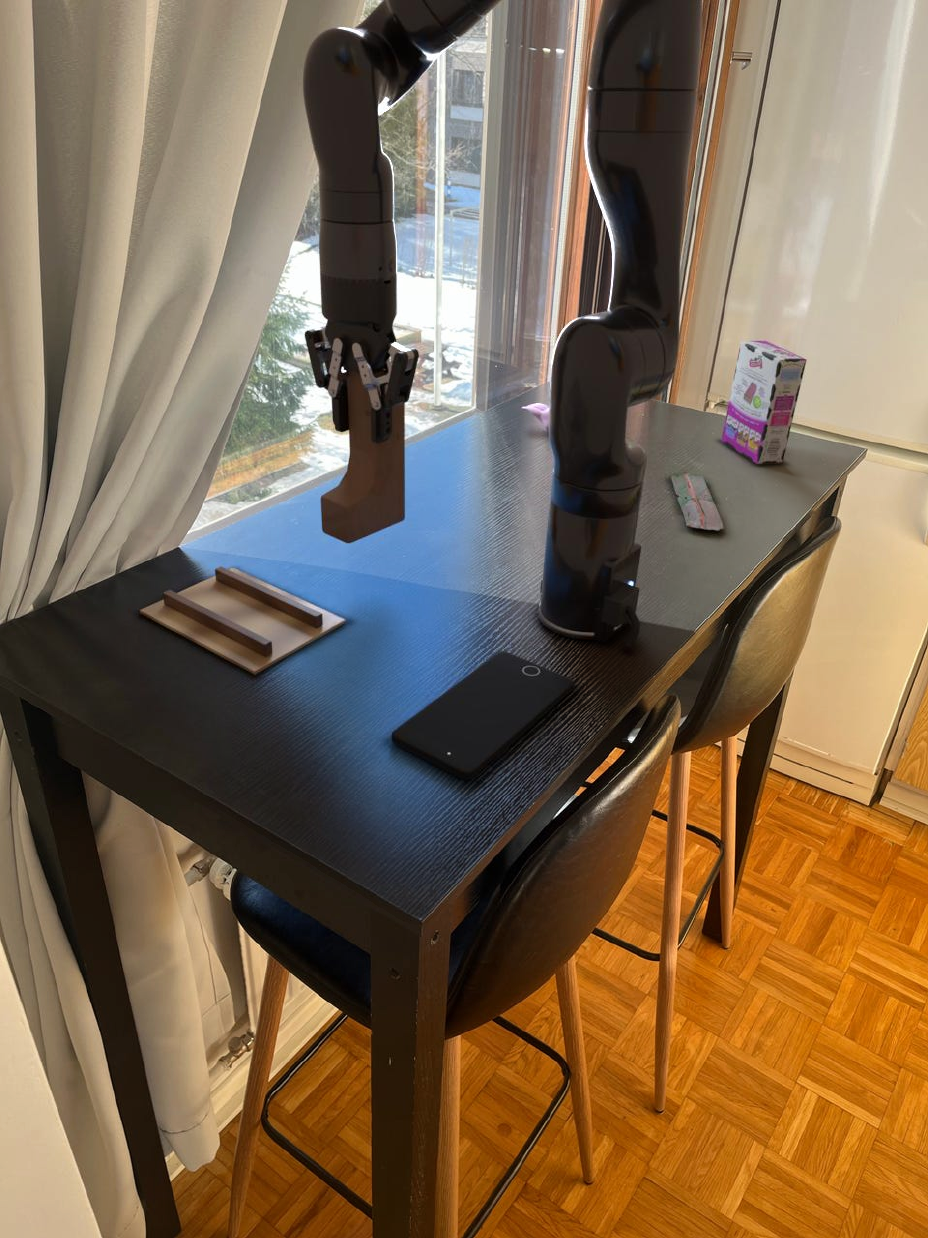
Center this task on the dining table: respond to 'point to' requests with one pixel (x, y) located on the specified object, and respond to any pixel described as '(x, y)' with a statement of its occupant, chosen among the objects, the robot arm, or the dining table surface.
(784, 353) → the candy bar box
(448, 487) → the dining table surface
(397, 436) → the wooden block
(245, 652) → the guide
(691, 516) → the map
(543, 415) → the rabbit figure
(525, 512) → the dining table surface
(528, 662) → the cell phone
